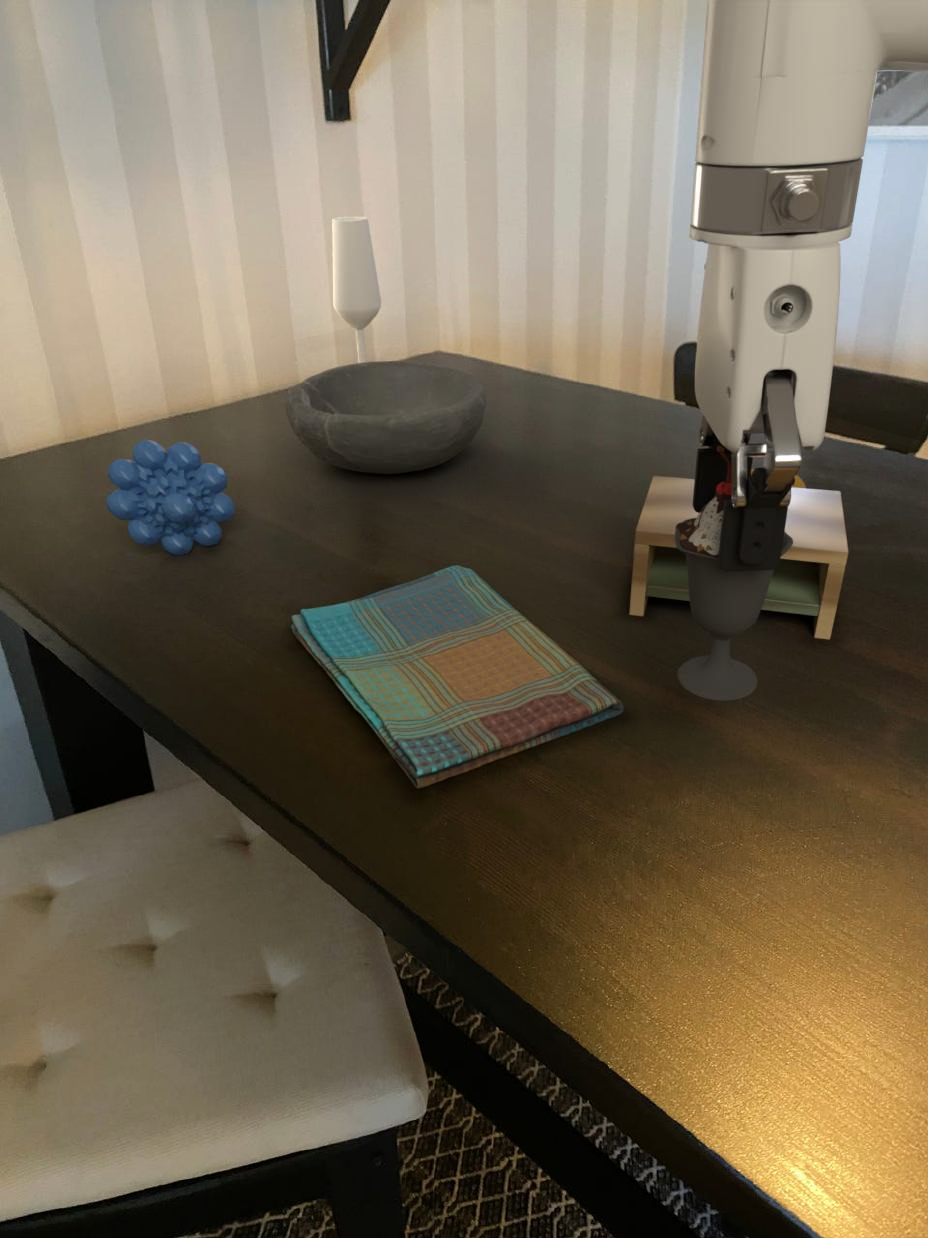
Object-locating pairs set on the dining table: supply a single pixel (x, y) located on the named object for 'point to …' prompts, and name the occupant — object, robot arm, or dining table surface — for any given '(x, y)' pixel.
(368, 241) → the champagne flute
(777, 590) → the shelf
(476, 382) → the bowl
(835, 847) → the dining table surface
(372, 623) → the dish towel
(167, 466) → the blue flower ornament
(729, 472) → the sundae
